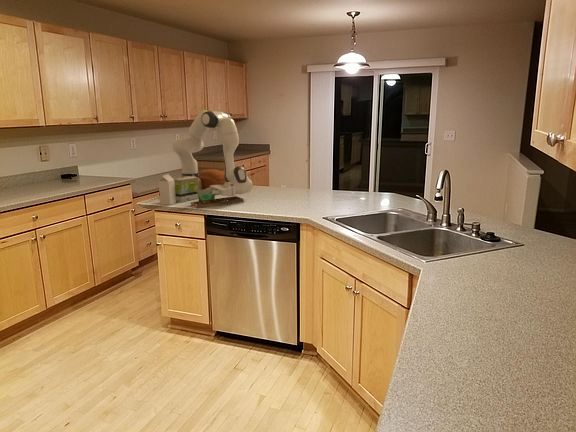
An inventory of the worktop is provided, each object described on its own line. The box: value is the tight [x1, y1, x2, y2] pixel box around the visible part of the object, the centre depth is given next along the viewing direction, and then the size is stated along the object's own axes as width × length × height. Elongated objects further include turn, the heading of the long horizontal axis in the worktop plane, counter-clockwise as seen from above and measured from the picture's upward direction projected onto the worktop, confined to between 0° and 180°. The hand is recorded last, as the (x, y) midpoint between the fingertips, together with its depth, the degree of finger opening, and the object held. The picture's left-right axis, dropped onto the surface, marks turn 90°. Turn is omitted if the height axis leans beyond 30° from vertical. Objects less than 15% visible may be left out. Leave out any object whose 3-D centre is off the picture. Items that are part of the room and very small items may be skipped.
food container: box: [196, 188, 216, 204], centre depth 267 cm, size 12×6×10 cm, turn 107°
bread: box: [198, 168, 226, 189], centre depth 314 cm, size 14×33×16 cm, turn 42°
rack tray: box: [190, 195, 244, 209], centre depth 271 cm, size 11×31×2 cm, turn 123°
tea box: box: [172, 176, 199, 203], centre depth 283 cm, size 15×10×15 cm
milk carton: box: [158, 173, 177, 206], centre depth 270 cm, size 7×7×19 cm
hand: (208, 191), depth 267 cm, fingers open, 7 cm apart
